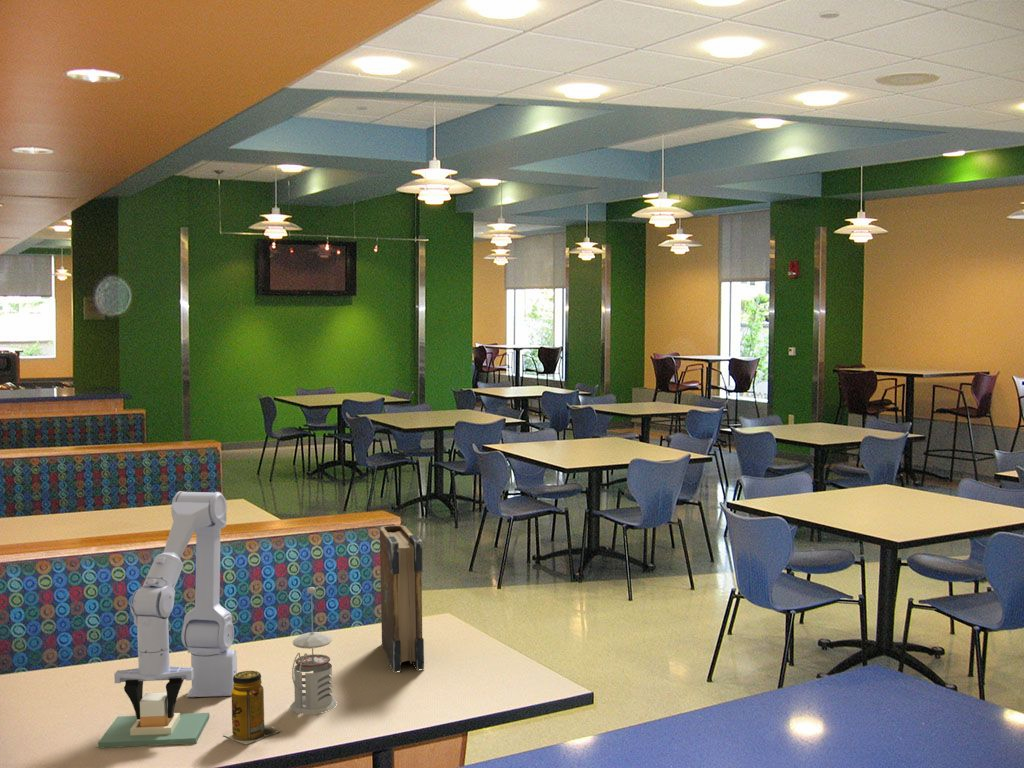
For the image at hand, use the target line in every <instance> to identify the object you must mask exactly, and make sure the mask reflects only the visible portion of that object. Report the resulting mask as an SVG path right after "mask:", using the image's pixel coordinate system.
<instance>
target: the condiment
mask: <svg viewBox="0 0 1024 768" xmlns="http://www.w3.org/2000/svg"><path fill="white" fill-rule="evenodd" d="M264 689H265V688H264V686H263V685H262V675H261V673H260V672H259V671H256V670H244V671H239V672H237V674H235V675H234V676H233V689H232V691H231V696H230V697H231V722H232V723H231V728H232V731H231V732H229V733H227V734H223V736H224V737H227V738H228V739H231V740H232V741H236V742H237V743H241V744H242V745H243V744H244V745H248V744H251V743H254V742H257V741H260V740H263V739H264V738H267V737H268V736H271V735H275V734H276V733H278V732H281V731H283V730H282V729H278V728H275V727H273V726H270V725H267V724H265V699H264V698H265V697H264V695H265V694H264Z"/></svg>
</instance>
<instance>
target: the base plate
mask: <svg viewBox="0 0 1024 768" xmlns="http://www.w3.org/2000/svg"><path fill="white" fill-rule="evenodd" d="M209 717H211V716H210V712H193V713H180V712H174V715H173V717H172V718H170V723H169V725H168V726H162V727H141V726H140V719H139V720H137V717H136V715H123V716H121V715H119V716H116V718H115V720H113V721H112V723H111V724H110V726H109V727H108V729H107V730H106V731H105V732H104V734H103V735H102V737H101V738H100V739H99V741H98V742H97V748H98V749H102V748H120V747H121V748H122V747H123V746H126V747H143V746H144V747H146V746H147V745H148V746H164V745H165V746H167V745H185V744H186V745H189V744H197V743H198V741H199V739H200V737H201V735H202V733H203V731H204V729H205V727H206V725H207V724H208V721H209V719H210V718H209ZM148 746H147V747H148ZM123 748H124V747H123Z"/></svg>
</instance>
